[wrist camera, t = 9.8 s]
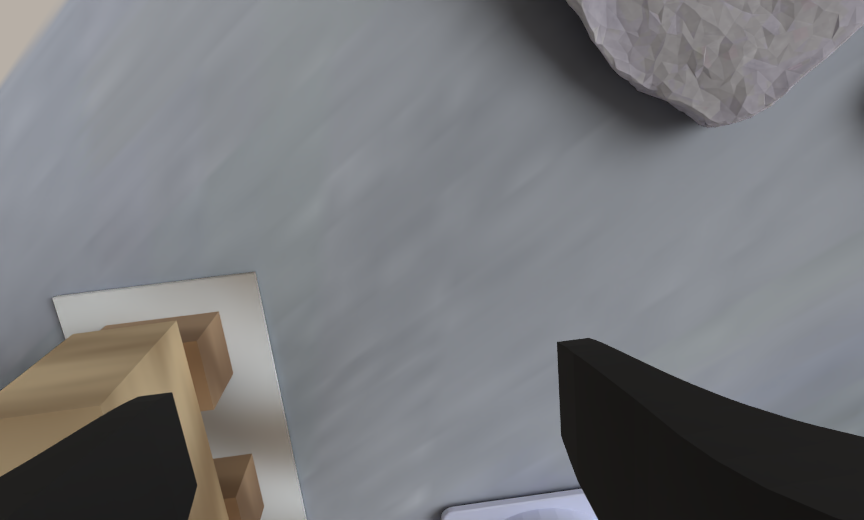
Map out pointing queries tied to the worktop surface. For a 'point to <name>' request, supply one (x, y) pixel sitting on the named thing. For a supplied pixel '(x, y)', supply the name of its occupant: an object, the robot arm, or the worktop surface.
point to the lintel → (107, 398)
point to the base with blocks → (216, 379)
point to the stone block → (718, 48)
